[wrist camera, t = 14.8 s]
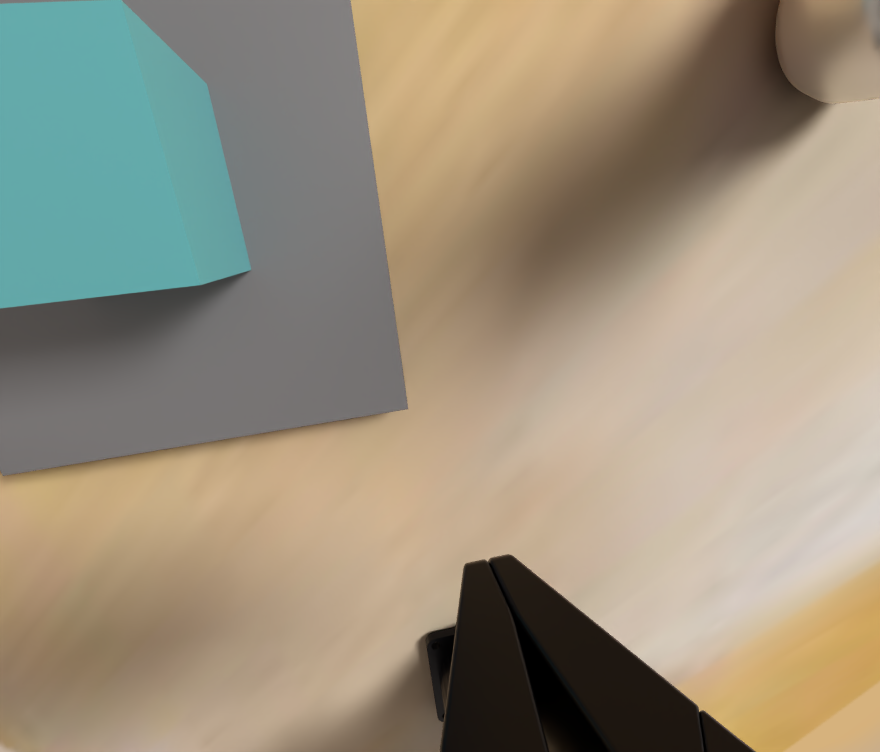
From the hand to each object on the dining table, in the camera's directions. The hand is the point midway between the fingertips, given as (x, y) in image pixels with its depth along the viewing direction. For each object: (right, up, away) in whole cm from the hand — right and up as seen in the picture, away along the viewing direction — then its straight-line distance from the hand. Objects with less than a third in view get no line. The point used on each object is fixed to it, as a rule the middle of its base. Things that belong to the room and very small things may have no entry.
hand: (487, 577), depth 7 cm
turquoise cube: (-10, +9, +6) cm, 15 cm away
